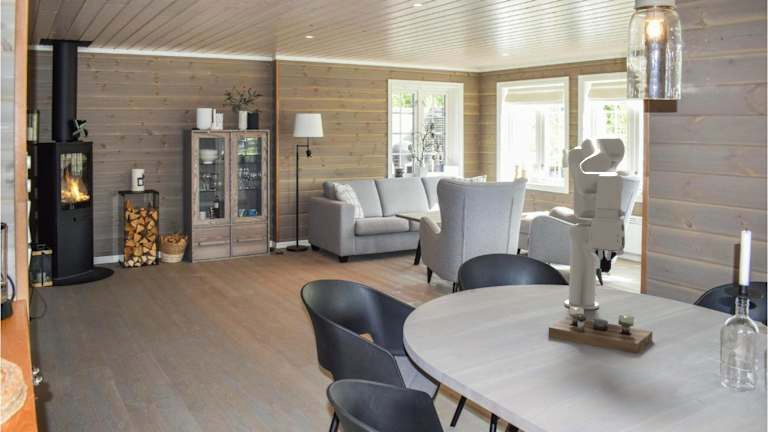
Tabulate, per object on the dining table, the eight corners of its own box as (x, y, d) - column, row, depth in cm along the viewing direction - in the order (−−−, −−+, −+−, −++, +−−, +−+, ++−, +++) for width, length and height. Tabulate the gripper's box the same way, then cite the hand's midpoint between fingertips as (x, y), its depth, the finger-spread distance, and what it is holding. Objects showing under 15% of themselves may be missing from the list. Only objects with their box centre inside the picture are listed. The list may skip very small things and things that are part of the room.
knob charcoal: (595, 334, 227) (596, 318, 226) (609, 336, 224) (609, 320, 224) (590, 337, 223) (591, 321, 223) (604, 340, 221) (605, 323, 220)
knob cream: (572, 321, 231) (572, 306, 231) (585, 324, 229) (585, 308, 228) (567, 324, 228) (567, 308, 227) (580, 327, 225) (580, 311, 224)
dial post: (577, 329, 223) (578, 314, 222) (587, 331, 221) (588, 316, 220) (573, 332, 220) (574, 316, 220) (583, 333, 218) (584, 318, 218)
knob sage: (620, 330, 222) (621, 314, 221) (634, 332, 219) (635, 316, 219) (616, 333, 218) (617, 317, 218) (630, 336, 216) (631, 319, 215)
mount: (567, 325, 238) (567, 316, 238) (652, 340, 222) (652, 331, 222) (548, 336, 226) (548, 327, 225) (636, 353, 209) (637, 343, 209)
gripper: (636, 214, 217) (633, 273, 219) (589, 211, 226) (586, 267, 228) (628, 217, 211) (625, 276, 213) (580, 213, 220) (577, 270, 222)
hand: (605, 271), depth 220 cm, fingers closed
